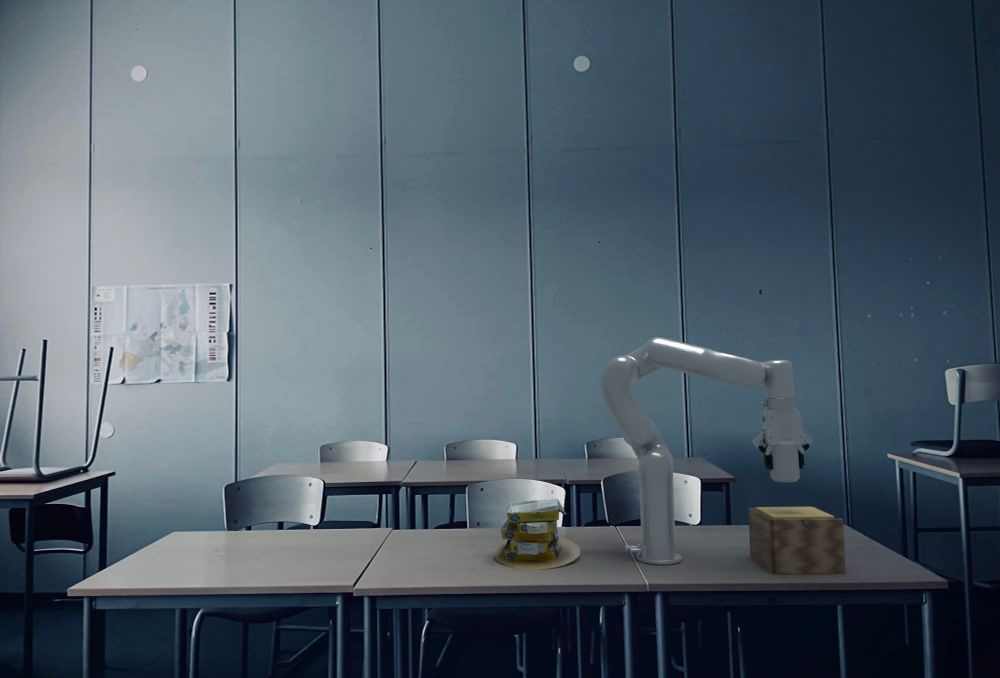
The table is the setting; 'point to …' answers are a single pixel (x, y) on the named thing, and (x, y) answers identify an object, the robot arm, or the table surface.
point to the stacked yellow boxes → (535, 537)
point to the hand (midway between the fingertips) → (784, 468)
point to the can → (785, 461)
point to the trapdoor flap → (794, 513)
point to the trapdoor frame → (797, 544)
